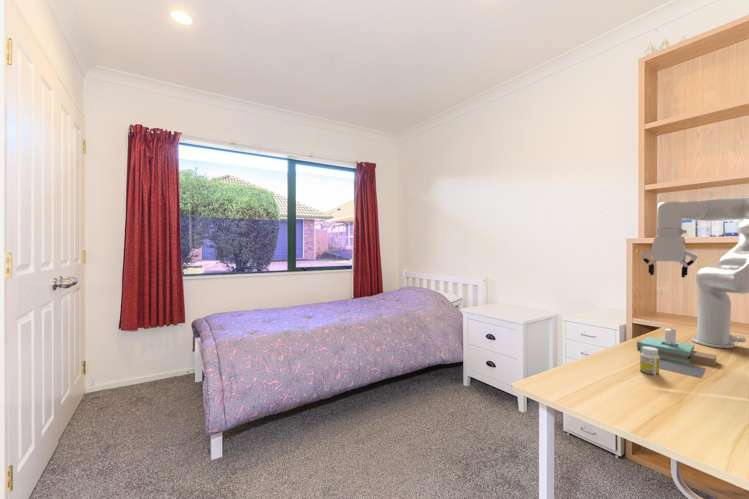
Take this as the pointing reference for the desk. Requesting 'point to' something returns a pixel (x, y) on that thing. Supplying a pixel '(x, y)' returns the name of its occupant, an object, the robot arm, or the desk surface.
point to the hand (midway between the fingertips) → (667, 275)
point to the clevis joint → (677, 351)
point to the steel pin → (670, 337)
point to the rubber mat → (681, 368)
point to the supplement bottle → (649, 361)
